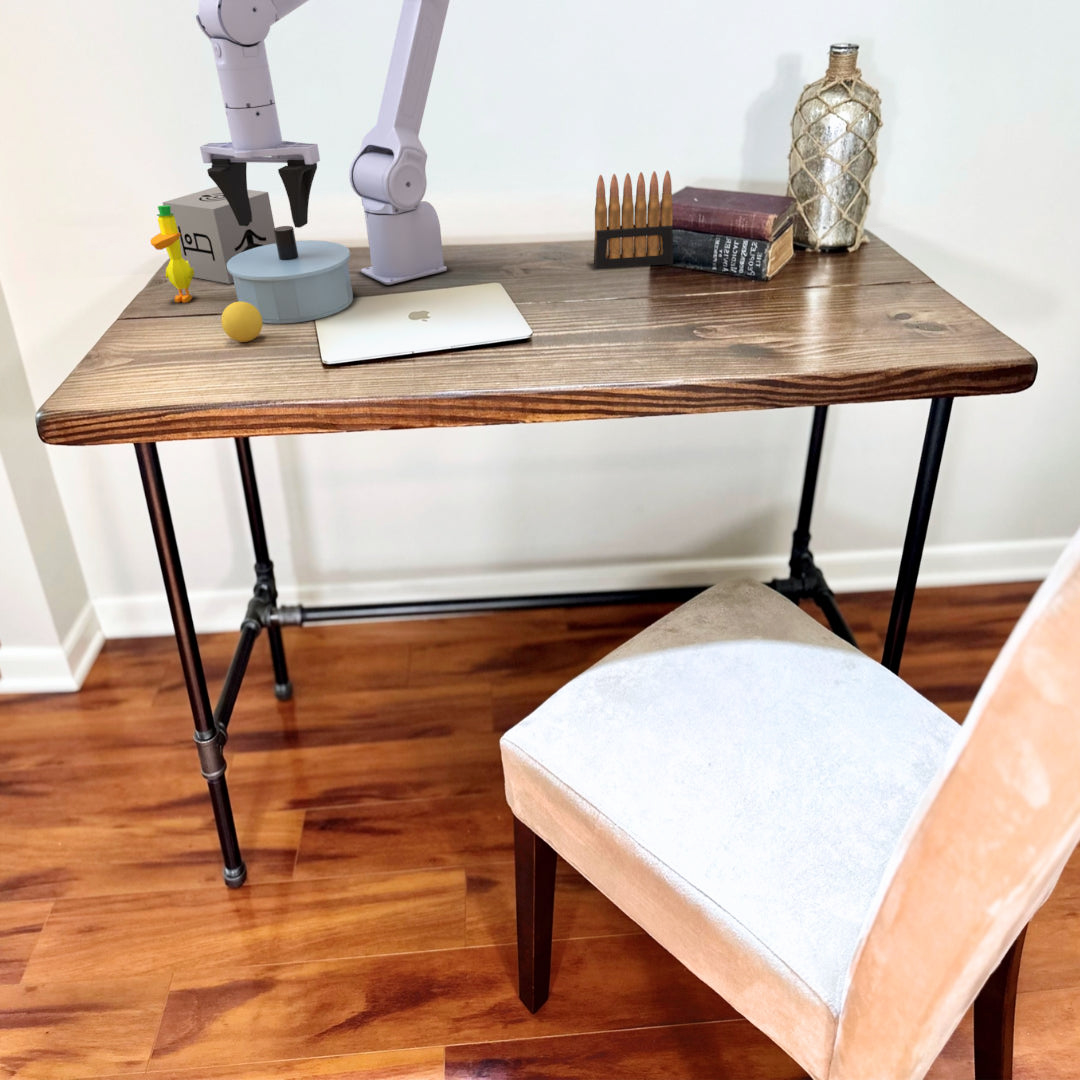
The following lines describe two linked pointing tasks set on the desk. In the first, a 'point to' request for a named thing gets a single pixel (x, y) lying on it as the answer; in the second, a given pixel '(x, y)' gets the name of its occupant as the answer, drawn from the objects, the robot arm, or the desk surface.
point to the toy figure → (173, 253)
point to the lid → (288, 258)
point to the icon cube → (219, 230)
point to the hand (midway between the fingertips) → (273, 224)
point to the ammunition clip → (633, 224)
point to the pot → (298, 296)
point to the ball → (241, 321)
